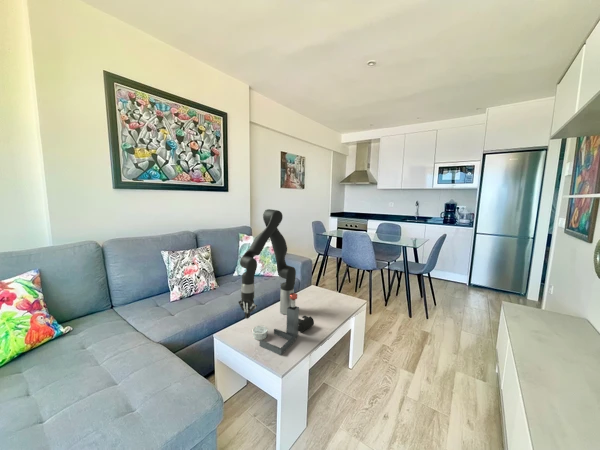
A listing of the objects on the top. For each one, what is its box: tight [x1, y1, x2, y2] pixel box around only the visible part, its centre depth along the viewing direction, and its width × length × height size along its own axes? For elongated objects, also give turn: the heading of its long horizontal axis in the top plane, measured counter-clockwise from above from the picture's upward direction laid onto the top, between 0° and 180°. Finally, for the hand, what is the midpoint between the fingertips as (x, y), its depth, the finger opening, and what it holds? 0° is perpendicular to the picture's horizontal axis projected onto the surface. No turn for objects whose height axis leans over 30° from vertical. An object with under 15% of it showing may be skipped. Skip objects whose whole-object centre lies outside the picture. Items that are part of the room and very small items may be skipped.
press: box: [259, 305, 300, 356], centre depth 136 cm, size 19×14×18 cm
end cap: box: [298, 315, 315, 333], centre depth 150 cm, size 10×7×7 cm
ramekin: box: [251, 325, 269, 341], centre depth 141 cm, size 9×9×4 cm
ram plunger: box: [290, 292, 298, 310], centre depth 139 cm, size 4×4×11 cm
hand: (247, 317), depth 145 cm, fingers closed
